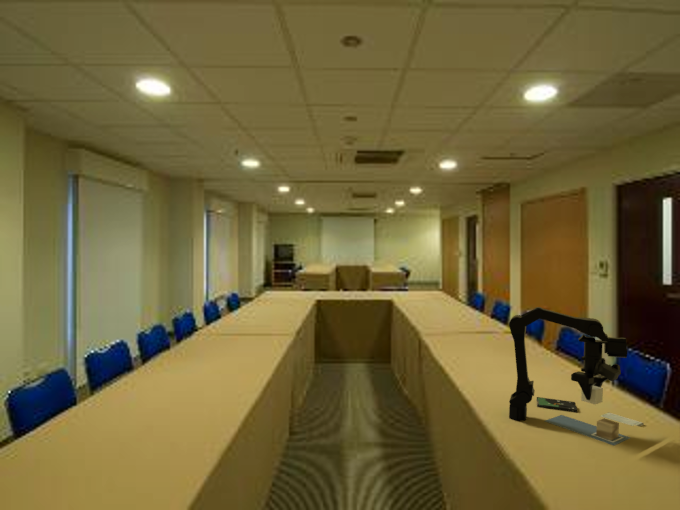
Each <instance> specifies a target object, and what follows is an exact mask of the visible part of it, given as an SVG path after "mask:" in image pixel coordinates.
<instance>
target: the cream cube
mask: <svg viewBox="0 0 680 510" xmlns="http://www.w3.org/2000/svg"><path fill="white" fill-rule="evenodd" d="M580 391H581V392H580V393H581V396H580V398H581V399H580V400H581V402H585V403H589V404H592V405H595V406H596V405H598V404H601V403H603V401H604V400H603V398H604V397H603V395H604V387H602V386H601V387H597V386H592V392H591V398H590V400H587V399H586V397H585V395H584V393H583V391H582V390H580Z"/></svg>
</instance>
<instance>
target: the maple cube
mask: <svg viewBox="0 0 680 510" xmlns="http://www.w3.org/2000/svg"><path fill="white" fill-rule="evenodd" d="M596 426H597V431H596V435H597V436H600V437H603V438H606V439H608V440H613V439H616V438H618V435H619V434H620V433H619V430H620V429H619V427H620V422H618V421H614V420H611V419H608V418H604V417H603V418H602V419H601V418H600V419H598V420H597V421H596Z"/></svg>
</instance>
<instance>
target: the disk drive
mask: <svg viewBox="0 0 680 510" xmlns="http://www.w3.org/2000/svg"><path fill="white" fill-rule="evenodd" d="M536 407H537V408H542V409H550V410H556V411H563V412H570V413H578V407H577V405H576V402H575V401H572V400H563V399H555V398H549V397H547V398H546V397H541V396H540V397H539V396H537V397H536Z"/></svg>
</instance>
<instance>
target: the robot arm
mask: <svg viewBox="0 0 680 510" xmlns="http://www.w3.org/2000/svg"><path fill="white" fill-rule="evenodd" d="M538 320H544V321H546V322H550V323H554V324H557V325H561V326H565V327H570V328H572V329H575V330H576V331H578V332H581V333H583V334H582V335H581V336H579V337H578V341H579V342H580V343H583V344H584V345H583V356H581V358H580V360H581V361H583V367H581V368H580V371H576V372H573V373H571V375H570V380H571V381H573V382H577V384H578V385H579V387H580V389H581V391H583V393H584V395H585V397H586V399H587V400H590V398H591V392H592V386H597V387H601V388H602V386H603V383H604V382H606V381H610V382H613V381H616V380H618V378H619V376H620V375H621V374H622V373H621V372H622V370H621V365H619V364H617V363H613V364H612V365H611V364H607V363H606V359H605V358H604V357H603V352H604V354H606V355H607V357H610V358H612V357H613V358H621V359H627V358H628V346H627V345H628V344H627V338H626V337H610V336H608V334H607V333H605V332H604V325H603V324H602V323H601V321H600V320H598V319H596V318H590V317H580V316H578V317H577V316H572V315H569V314H565V313H561V312H558V311H553V310H550V309H546V308H543V307H541V306H536V307H534V308H533V309H531V310H529V311H527V312H525V313H523V314H521V315H520V314H516V315H513V316H512V317H511V318H510V320H509V323H508V326H509V330H510V334H511V337H512V339H513V344H514V354H515V365H516V366H515V367H516V377H517V378H516V379H517V380H516V387H515V392H513V393H512V394H511V395H510V398H509V402H508V403H509V408H508V409H509V410H508V411H509V413H508V418H509V419H510V420H512V421H515V422H524V421H526V420H527V417H528V416H527V413H528V412H527V411H528V404H530V403H531V402H532V400H533V397H534V396H535V392H536V391H535V388H534V380H530V377H529V372H528V361H527V352H526V351H527V350H526V332H527V326H529V325H531V324H533V323H534V322H537V321H538ZM586 335H587V336H586ZM596 338H597V339H596ZM603 345H604V346H603Z"/></svg>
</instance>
